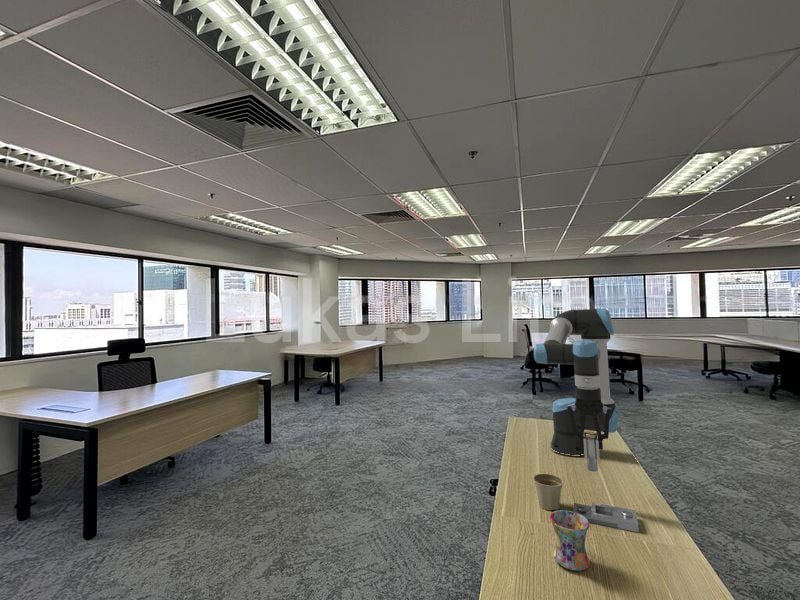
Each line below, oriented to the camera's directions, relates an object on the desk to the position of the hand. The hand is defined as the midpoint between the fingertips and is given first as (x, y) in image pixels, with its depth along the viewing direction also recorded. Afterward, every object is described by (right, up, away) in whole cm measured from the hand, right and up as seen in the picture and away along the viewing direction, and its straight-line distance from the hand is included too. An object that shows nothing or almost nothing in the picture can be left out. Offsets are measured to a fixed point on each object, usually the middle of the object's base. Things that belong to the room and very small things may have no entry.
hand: (592, 457), depth 121 cm
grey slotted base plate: (-1, -15, -9) cm, 17 cm away
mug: (-20, -15, -27) cm, 36 cm away
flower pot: (-15, -16, -1) cm, 22 cm away
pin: (0, -4, 0) cm, 4 cm away
